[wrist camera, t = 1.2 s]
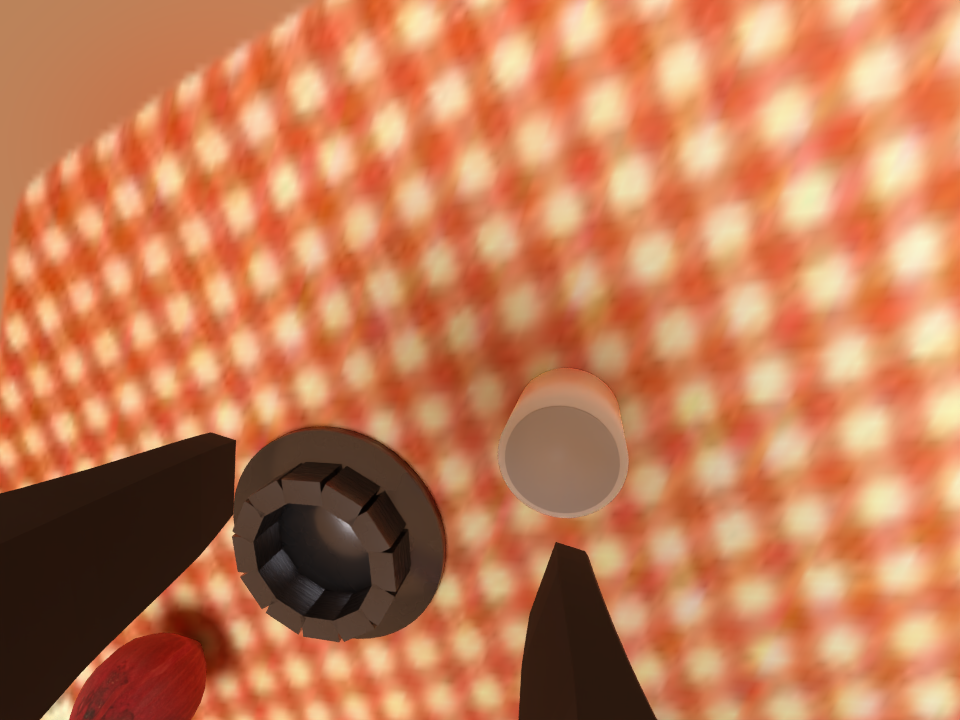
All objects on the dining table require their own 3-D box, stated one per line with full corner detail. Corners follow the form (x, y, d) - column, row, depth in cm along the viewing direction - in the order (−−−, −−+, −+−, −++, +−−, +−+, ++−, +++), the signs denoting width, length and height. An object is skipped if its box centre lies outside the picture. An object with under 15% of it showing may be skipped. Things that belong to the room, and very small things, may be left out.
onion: (156, 591, 29) (3, 709, 22) (236, 617, 28) (105, 750, 21) (160, 666, 31) (18, 802, 23) (237, 693, 30) (114, 845, 22)
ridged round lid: (486, 507, 23) (473, 537, 20) (389, 668, 26) (368, 710, 24) (282, 384, 24) (247, 399, 21) (215, 554, 27) (178, 583, 25)
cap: (641, 401, 20) (655, 443, 16) (585, 483, 21) (584, 543, 17) (547, 348, 21) (535, 374, 16) (498, 432, 22) (475, 477, 17)
